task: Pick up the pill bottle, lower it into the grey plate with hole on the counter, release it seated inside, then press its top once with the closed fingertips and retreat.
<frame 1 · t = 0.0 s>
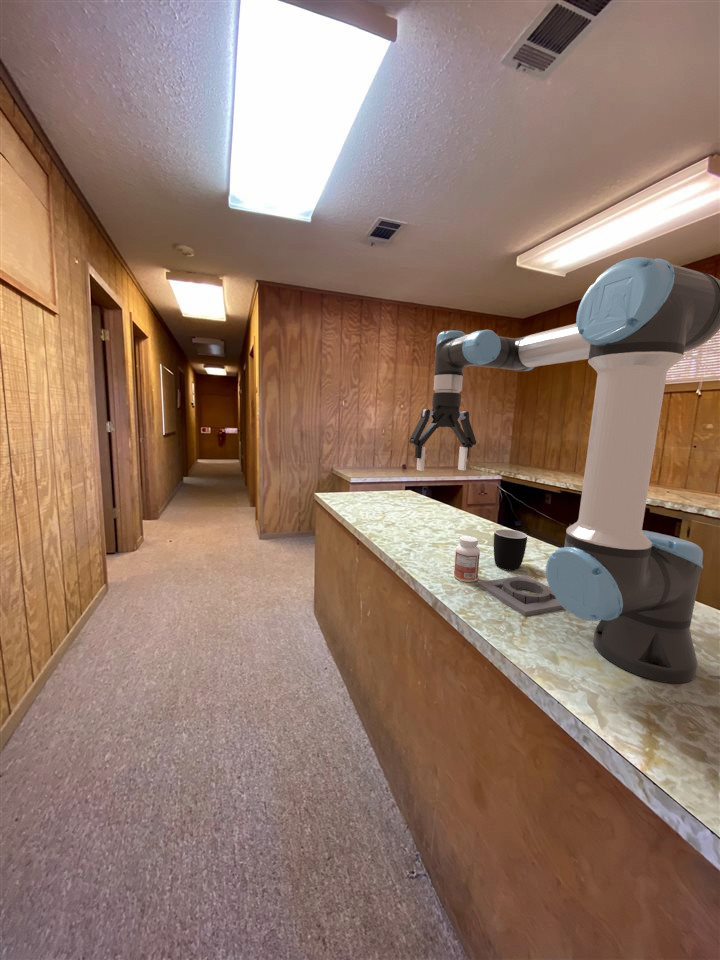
hand: (441, 470, 106), 28 cm above the countertop, fingers open, 13 cm apart
pill bottle: (465, 578, 102), on the countertop
grey plate with hole: (525, 595, 93), on the countertop
mug: (505, 565, 113), on the countertop
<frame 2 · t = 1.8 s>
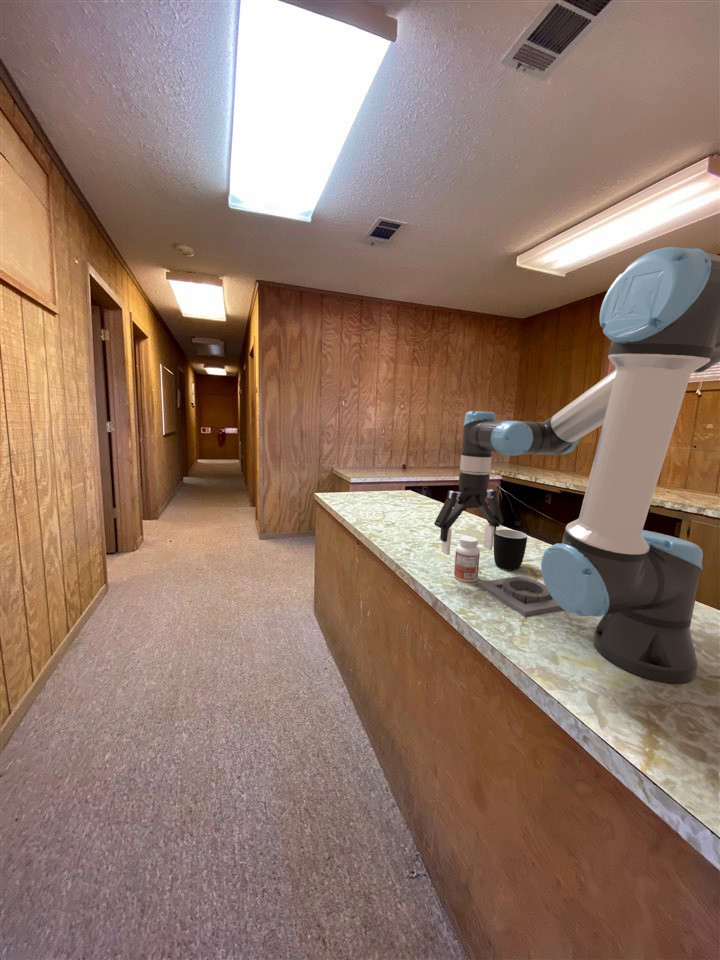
hand: (467, 550, 101), 8 cm above the countertop, fingers open, 13 cm apart
nothing on the countertop moved.
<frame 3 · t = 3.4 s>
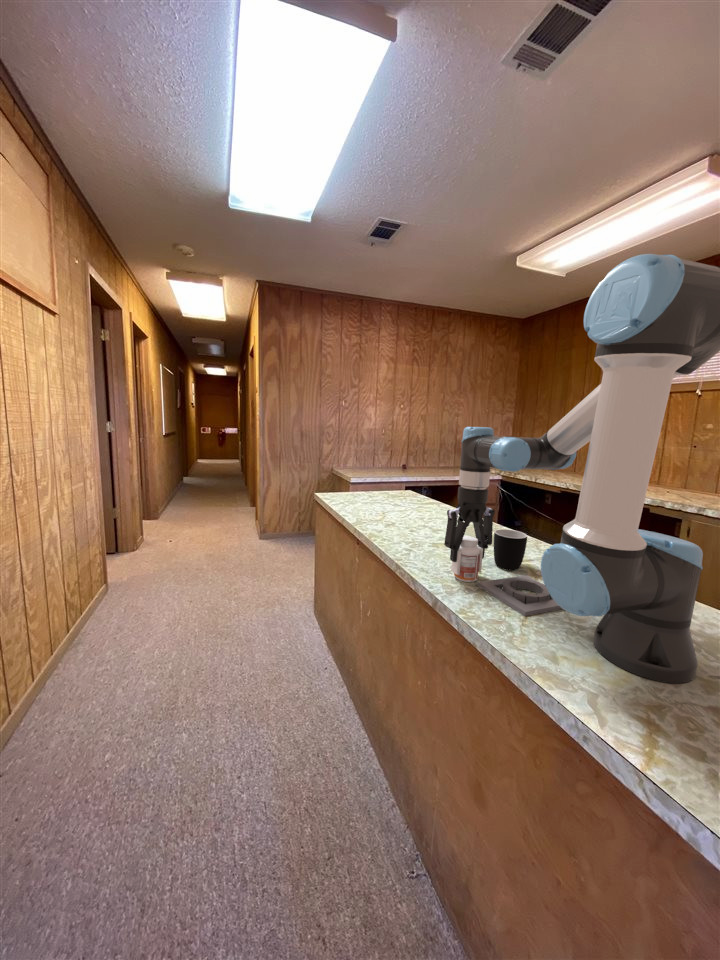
hand: (466, 571, 102), 2 cm above the countertop, fingers closed on pill bottle, 6 cm apart
pill bottle: (465, 578, 102), on the countertop, touching gripper
everything else where it was.
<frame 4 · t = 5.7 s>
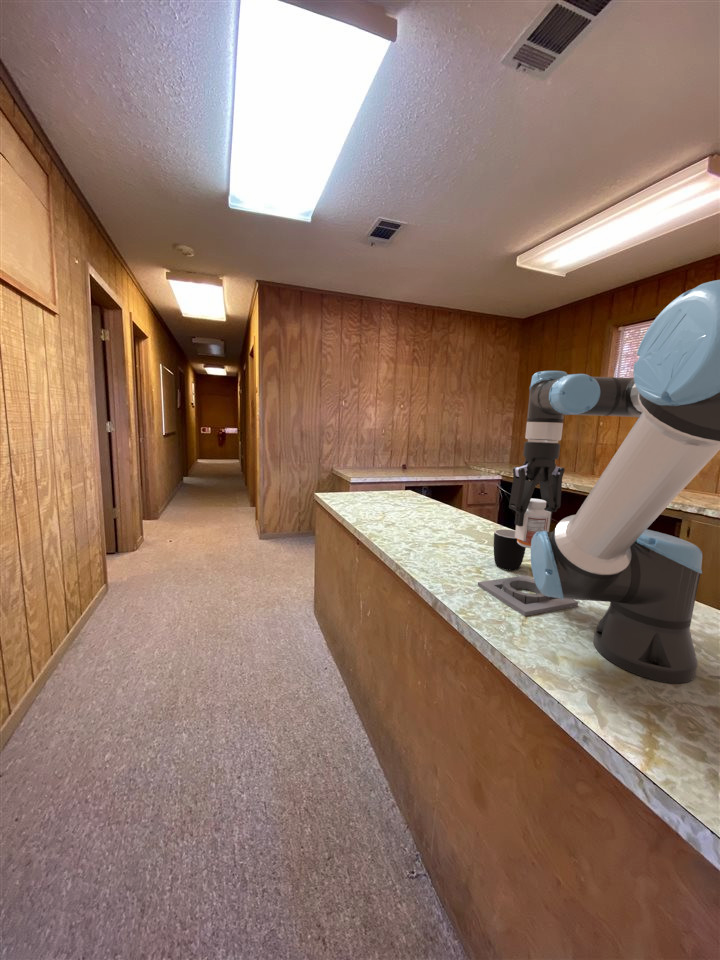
hand: (531, 537, 91), 15 cm above the countertop, fingers closed on pill bottle, 6 cm apart
pill bottle: (530, 546, 91), point 13 cm above the countertop, touching gripper
everything else where it was.
when the fingers open (3 cm above the countertop, at t = 8.3 s): pill bottle drops 1 cm, resting in grey plate with hole.
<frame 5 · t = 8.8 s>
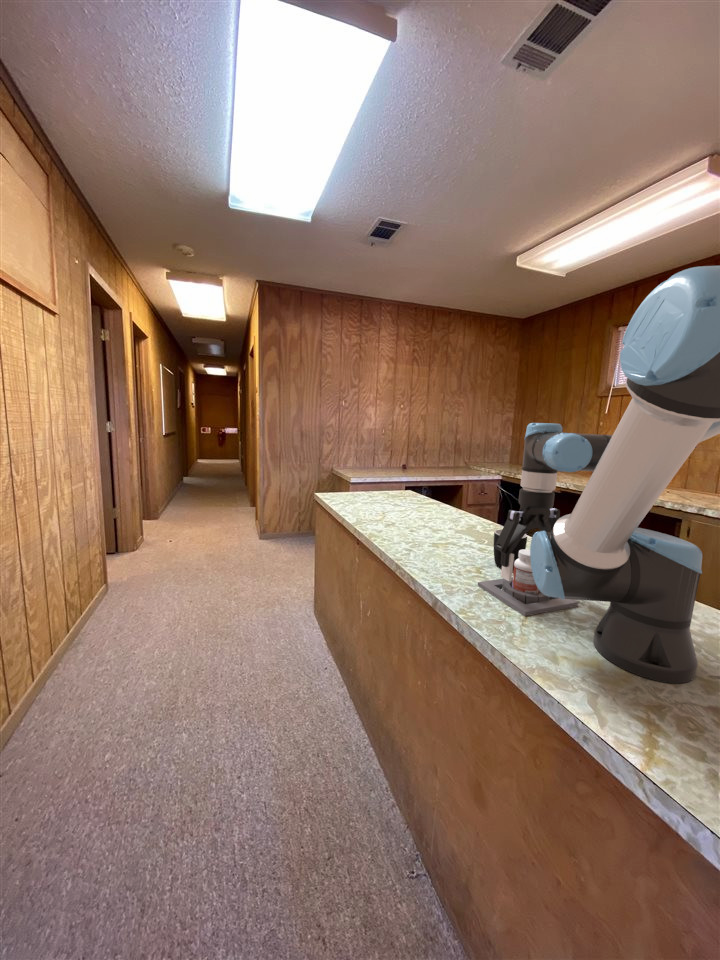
hand: (527, 576, 92), 5 cm above the countertop, fingers open, 12 cm apart
pill bottle: (524, 596, 93), resting in grey plate with hole
everything else where it was.
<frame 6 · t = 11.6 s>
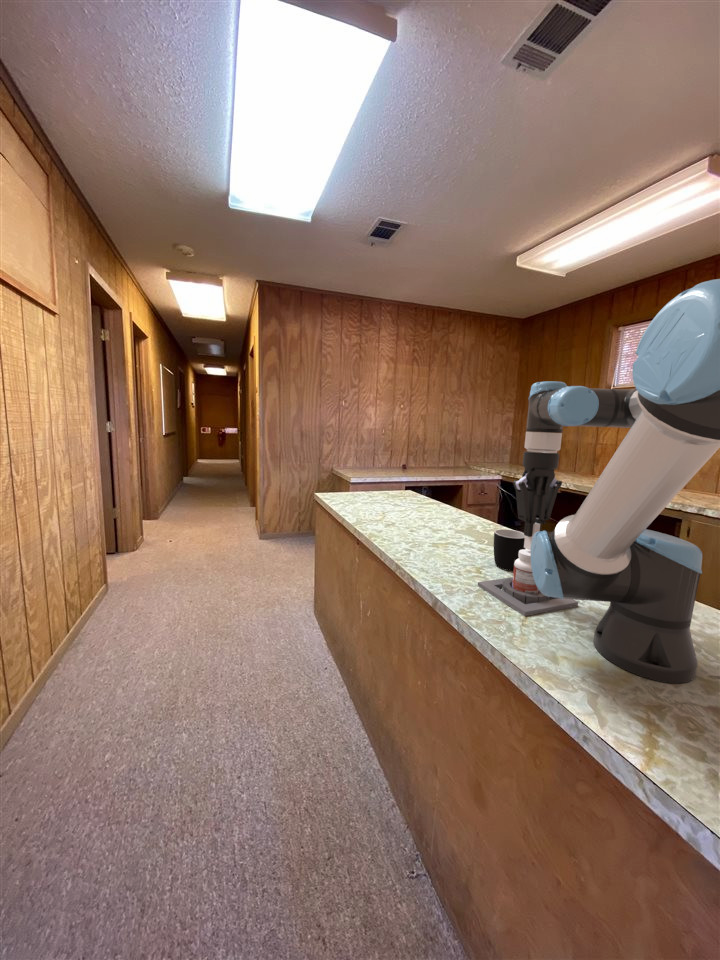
hand: (530, 548, 91), 12 cm above the countertop, fingers closed
nothing on the countertop moved.
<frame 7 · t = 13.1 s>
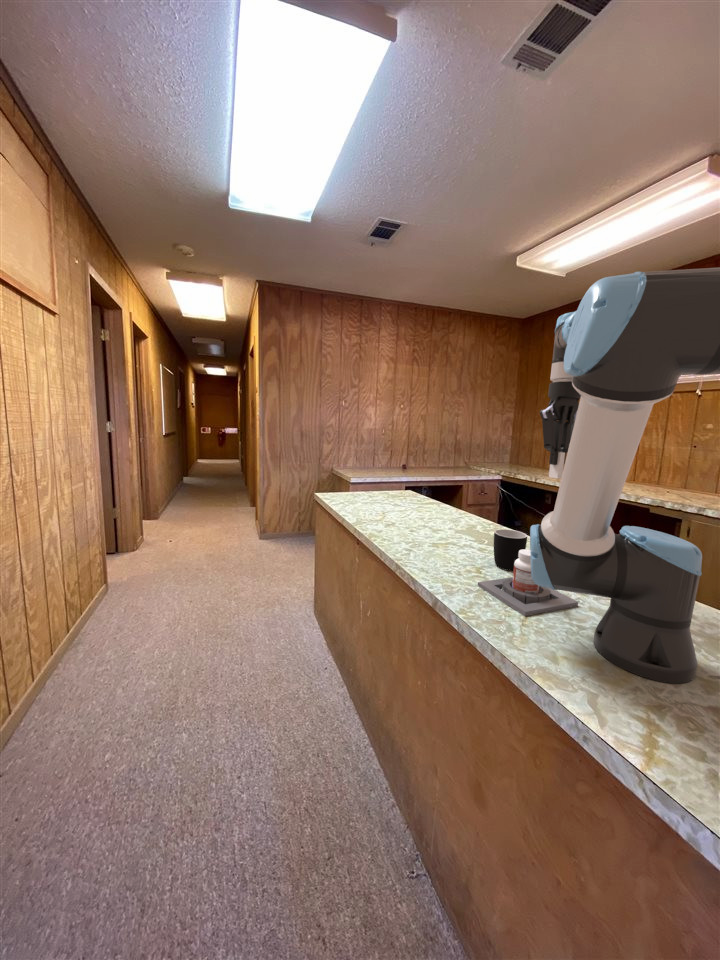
hand: (555, 477, 96), 28 cm above the countertop, fingers closed
nothing on the countertop moved.
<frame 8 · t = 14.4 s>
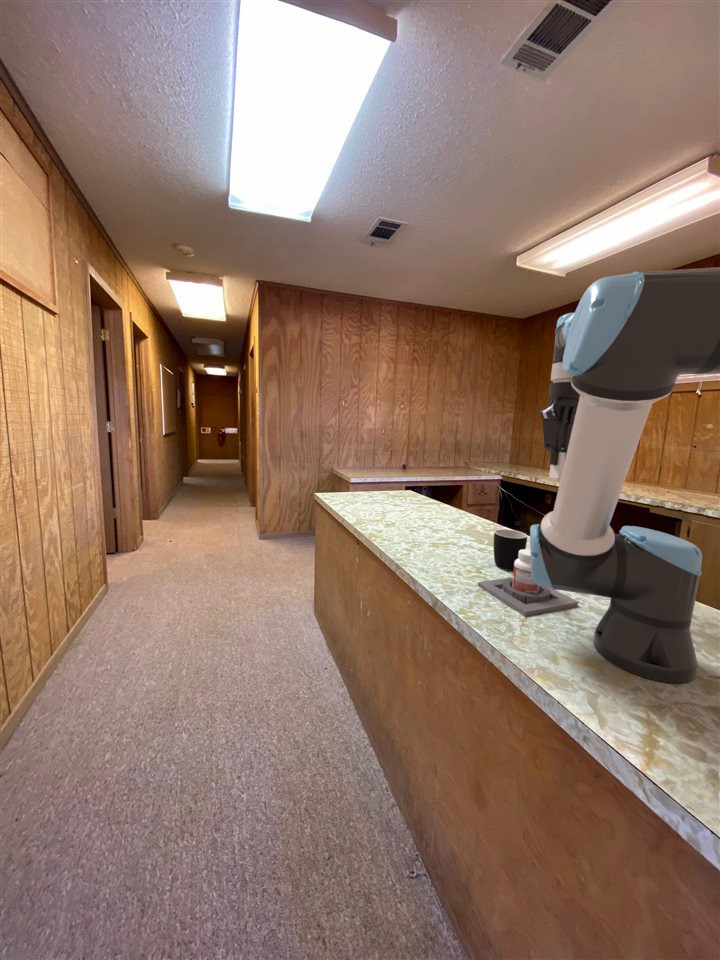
hand: (555, 477, 96), 28 cm above the countertop, fingers closed
nothing on the countertop moved.
at the end: pill bottle 0.2 cm from the grey plate with hole (horizontally); pill bottle resting in grey plate with hole; pill bottle tilted 0° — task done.
